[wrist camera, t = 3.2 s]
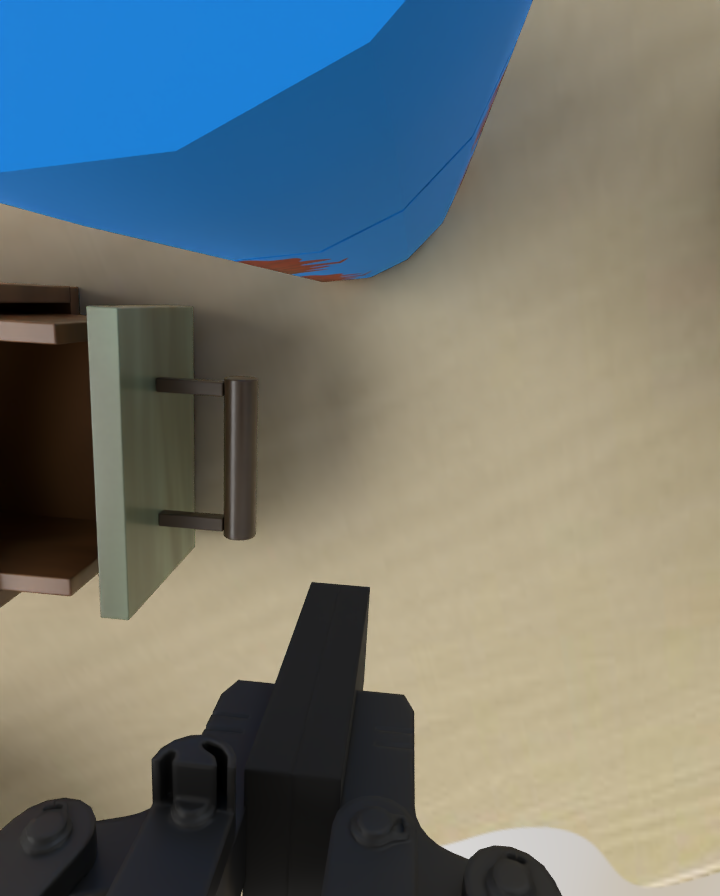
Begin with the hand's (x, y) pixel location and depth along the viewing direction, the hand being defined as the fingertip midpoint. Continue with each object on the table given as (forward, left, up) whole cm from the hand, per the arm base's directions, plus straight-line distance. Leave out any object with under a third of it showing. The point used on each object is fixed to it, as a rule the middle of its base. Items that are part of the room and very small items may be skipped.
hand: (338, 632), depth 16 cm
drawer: (+13, -4, -15) cm, 21 cm away
